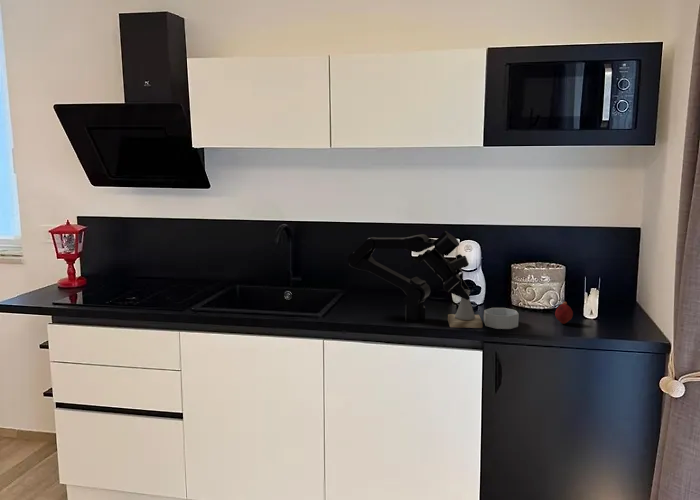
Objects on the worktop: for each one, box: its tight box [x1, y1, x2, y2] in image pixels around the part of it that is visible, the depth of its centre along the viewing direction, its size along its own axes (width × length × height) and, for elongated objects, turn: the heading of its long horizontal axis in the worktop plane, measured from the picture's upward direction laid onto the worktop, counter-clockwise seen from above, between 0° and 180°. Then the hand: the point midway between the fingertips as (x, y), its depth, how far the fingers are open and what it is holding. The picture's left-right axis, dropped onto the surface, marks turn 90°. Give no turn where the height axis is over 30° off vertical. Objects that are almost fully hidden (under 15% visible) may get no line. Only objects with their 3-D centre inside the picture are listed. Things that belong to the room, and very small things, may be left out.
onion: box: [554, 301, 574, 325], centre depth 223 cm, size 6×6×8 cm
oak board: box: [447, 313, 484, 329], centre depth 224 cm, size 11×10×2 cm
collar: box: [483, 307, 520, 330], centre depth 223 cm, size 11×11×4 cm
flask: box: [455, 289, 476, 320], centre depth 223 cm, size 7×7×10 cm
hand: (469, 296), depth 222 cm, fingers open, 9 cm apart
